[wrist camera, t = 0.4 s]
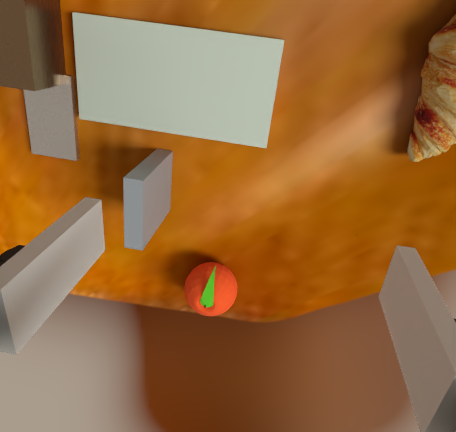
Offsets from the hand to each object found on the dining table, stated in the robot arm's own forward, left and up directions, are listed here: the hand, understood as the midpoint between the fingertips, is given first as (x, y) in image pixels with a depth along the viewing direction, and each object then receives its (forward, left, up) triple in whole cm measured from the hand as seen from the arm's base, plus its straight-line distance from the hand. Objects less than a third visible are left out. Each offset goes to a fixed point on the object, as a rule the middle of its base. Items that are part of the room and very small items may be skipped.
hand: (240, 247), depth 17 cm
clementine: (+22, -4, -28) cm, 36 cm away
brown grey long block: (-1, -26, -28) cm, 38 cm away
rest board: (-2, -11, -28) cm, 30 cm away
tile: (+10, -12, -28) cm, 32 cm away
